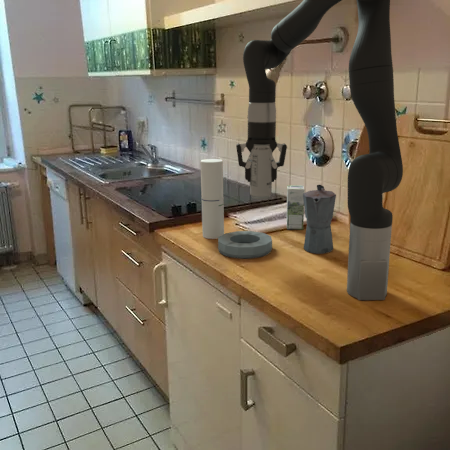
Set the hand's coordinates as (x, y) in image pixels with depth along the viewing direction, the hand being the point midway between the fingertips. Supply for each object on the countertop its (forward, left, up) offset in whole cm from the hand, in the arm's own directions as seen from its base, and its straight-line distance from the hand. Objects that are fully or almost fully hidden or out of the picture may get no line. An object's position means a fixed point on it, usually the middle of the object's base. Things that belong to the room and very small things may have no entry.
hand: (260, 181), depth 138 cm
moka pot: (+7, -18, -23) cm, 30 cm away
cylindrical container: (+22, +14, -23) cm, 35 cm away
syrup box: (+30, -14, -23) cm, 40 cm away
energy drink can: (0, 0, -5) cm, 5 cm away
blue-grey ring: (+7, +4, -22) cm, 24 cm away
